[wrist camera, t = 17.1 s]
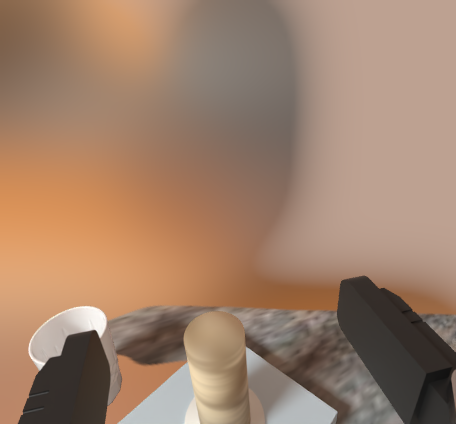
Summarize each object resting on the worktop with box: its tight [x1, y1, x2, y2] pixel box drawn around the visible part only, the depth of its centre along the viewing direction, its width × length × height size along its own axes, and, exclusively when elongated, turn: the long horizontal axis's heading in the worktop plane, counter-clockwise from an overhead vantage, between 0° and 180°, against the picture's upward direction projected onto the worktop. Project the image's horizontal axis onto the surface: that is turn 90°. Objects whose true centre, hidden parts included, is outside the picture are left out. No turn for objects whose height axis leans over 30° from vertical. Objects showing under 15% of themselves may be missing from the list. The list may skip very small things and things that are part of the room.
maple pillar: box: [184, 311, 251, 424], centre depth 29 cm, size 5×5×12 cm
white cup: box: [29, 306, 122, 406], centre depth 36 cm, size 8×8×10 cm
